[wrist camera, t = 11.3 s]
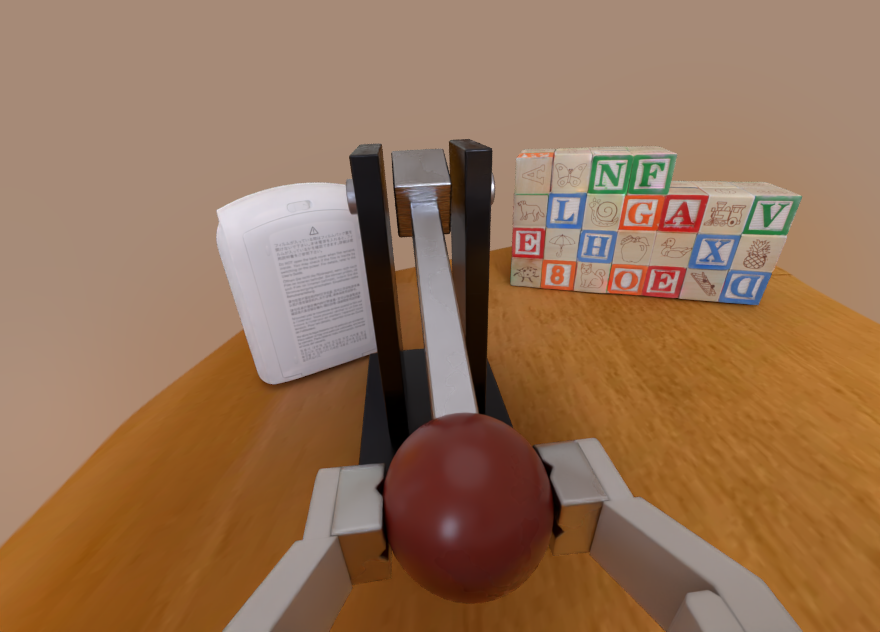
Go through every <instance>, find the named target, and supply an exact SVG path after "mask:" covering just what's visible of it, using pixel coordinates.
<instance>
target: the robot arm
mask: <svg viewBox="0 0 880 632" xmlns="http://www.w3.org/2000/svg"><path fill="white" fill-rule="evenodd" d="M533 448H534V450H535V451H536V453H537V454H538V456H539V458H540V459H541V461H542V463H543V465H544V467H545V470H546V472H547V475H548V478H549V481H550V485H551V489H552V493H553V502H554V520H553V527H552V534H551V538H550V541H549V548H550V550H551V553H552V556H559V555H568V554H578V553H587V552H590V554H589V555H590V556H591V557H592V558H593V559H594V560H595V561H596V562H597V563H598V564H599V565H600V566H601V567H602V568H603V569H604V570H605V571H606V572H607V573H608V574H609V575H610V576H611V577H612V578H613V579H614V580H615V581H616V582H617V583H618V584H619V585H620V586H621V587H622V588H623V589H624V590H625V591H626V592H627V593H628V594H629V595H630V596H631V597H632V598H633V599H634V600H635V601H636V602H637V603H638V604H639V605H640V606H641V607H642V608H643V609H644V610H645V611H646V612H647V613H648V614H649V615H650V616H651V617H652V618H653V619H654V620H655V621H656V622H657V623H658V624H659V625H660V626H661V627H662V628H663V629H664V630H665V631H666V632H803V631H802V630H801V628H800V627H799V626H798V625H797V623H796V622H795V621H794V619H793V618H792V617H791V616H790V614H789V613H788V612H787V611H786V609H785V608H784V607H783V605H782V604H781V603H780V602H779V600H778V599H777V598H776V596H775V595H774V594H773V593H772V591H771V590H770V589H769V587H768V586H767V585H766V584H765V582H764V581H763V580H762V579H761V578H759V577H758V576H756V575H755V574H753V573H752V572H750V571H749V570H747V569H746V568H744V567H743V566H741V565H740V564H738V563H737V562H736V561H734V560H733V559H731V558H730V557H728V556H727V555H725V554H724V553H722V552H721V551H719V550H718V549H716V548H715V547H713V546H712V545H711V544H709V543H708V542H706V541H705V540H703V539H702V538H700V537H699V536H697V535H696V534H694V533H693V532H691V531H690V530H688V529H687V528H685V527H684V526H683V525H681V524H680V523H678V522H677V521H675V520H674V519H672V518H671V517H669V516H668V515H666V514H665V513H663V512H662V511H660V510H659V509H658V508H656V507H655V506H653V505H652V504H650V503H649V502H647V501H646V500H644V499H643V498H641V497H633V495H632V493H631V492H630V490H629V489H628V487H627V485H626V484H625V482H624V481H623V479H622V477H621V476H620V474H619V473H618V471H617V469H616V468H615V466H614V465H613V463H612V461H611V460H610V458H609V457H608V455H607V453H606V452H605V450H604V449H603V447H602V445H601V444H600V442H599V441H598V440H597V439H596V438H588V439H579V440H567V441H560V442H552V443H544V444H537V445H533ZM386 476H387V469H386V464H385V463H378V464H367V465H355V466H344V467H335V468H325V469H320V470H319V472H318V474H317V475H316V479H315V484H314V489H313V493H312V498H311V503H310V508H309V512H308V517H307V522H306V526H305V531H304V536H303V540H300V541H295V542H294V544H293V545H292V546H291V547H290V549H289V550H288V551H287V552H286V554H285V555H284V556H283V557H282V558H281V560H280V561H279V562H278V563H277V565H276V566H275V567H274V568H273V569H272V571H271V572H270V573H269V574H268V576H267V577H266V578H265V579H264V581H263V582H262V583H261V584H260V585H259V587H258V588H257V589H256V590H255V592H254V593H253V594H252V595H251V597H250V598H249V599H248V600H247V601H246V603H245V604H244V605H243V606H242V608H241V609H240V610H239V611H238V612H237V614H236V615H235V616H234V617H233V619H232V620H231V621H230V622H229V624H228V625H227V626H226V627H225V628H224V630H223V631H222V632H329V631H330V629H331V627H332V625H333V623H334V621H335V620H336V618H337V616H338V614H339V612H340V610H341V608H342V607H343V605H344V603H345V601H346V599H347V597H348V596H349V594H350V592H351V590H352V585H355V584H361V583H367V582H373V581H379V580H385V579H391V574H392V549H391V547H390V544H389V541H388V538H387V535H386V531H385V523H384V508H383V497H382V494H383V488H384V482H385V479H386Z"/></svg>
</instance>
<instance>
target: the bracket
mask: <svg viewBox="0 0 880 632" xmlns="http://www.w3.org/2000/svg"><path fill="white" fill-rule="evenodd" d="M449 155H450V178H451V182H452V201H451V238H452V277H453V283H454V288H455V293H456V298H457V303H458V308H459V313H460V319H461V324H462V329H463V334H464V339H465V344H466V349H467V355H468V360H469V365H470V370H471V375H472V380H473V385H474V390H475V396H476V401H477V406H478V411H479V414H482V415H487V416H490V417H493V418H495V419H497V420H500V421H502V422H504V423H505V424H507V425H509V426H510V427H512V428H513V426H512V423H511V421H510V418H509V415H508V413H507V410H506V407H505V405H504V402H503V399H502V396H501V394H500V391H499V388H498V386H497V383H496V380H495V378H494V375H493V372H492V370H491V367H490V364H489V362H488V359H487V336H488V298H489V260H490V222H491V205H492V204H493V202H494V198H495V181H494V176H493V173H492V148H490V147H487V146H485V145H482V144H480V143H477V142H475V141H472V140H470V139H462V140H450V141H449ZM349 159H350V166H351V173H352V179H347V180H346V196H347V203H348V208H349V211H350V213H351V214H352V215H355V214H357V215H358V222H359V228H360V235H361V242H362V249H363V256H364V263H365V270H366V277H367V284H368V291H369V298H370V305H371V312H372V319H373V325H374V332H375V339H376V346H377V353H371V354H370V356H369V366H368V376H367V387H366V397H365V407H364V417H363V427H362V438H361V448H360V458H359V465H367V464H378V463H385V464H386V469H387V472H388V469H389V466H390V464H391V462H392V460H393V458H394V456H395V454H396V452H397V451H398V449H399V448H400V447H401V445H402V444H403V443H404V441H405V440H406V439H407V438H408V437H409V436H410V435H411V434H412V433H413V432H414V431H416V430H417V429H418V428H419V427H421V426H422V425H424V424H425V423H427V422H429V421H431V420H432V417H431V407H430V398H429V388H428V379H427V370H426V360H425V351H424V349H414V350H403V343H402V334H401V324H400V314H399V305H398V295H397V286H396V276H395V266H394V257H393V247H392V237H391V228H390V218H389V208H388V199H387V189H386V180H385V170H384V161H383V151H382V144H364V145H359V146H358V147H357V149H355V151H354V152H353V153H352V154H351V155H350V156H349Z"/></svg>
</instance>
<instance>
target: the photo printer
mask: <svg viewBox="0 0 880 632" xmlns="http://www.w3.org/2000/svg"><path fill="white" fill-rule="evenodd" d="M216 212H217V216H218V220H219V225H218V228H217V235H216V236H217V238H216V240H217V246H218V250H219V253H220V257H221V259H222V263H223V266H224V269H225V272H226V275H227V278H228V282H229V284H230V288H231V291H232V294H233V297H234V300H235V304H236V307H237V310H238V313H239V316H240V319H241V322H242V325H243V328H244V332H245V335H246V338H247V341H248V344H249V347H250V350H251V353H252V356H253V359H254V362H255V366H256V369H257V372H258V375H259V377H260V378H261V379H262V380H263V381H264V382H266V383H269V384H279V383H283V382H288V381H291V380H294V379H298V378H301V377H304V376H307V375H310V374H313V373H316V372H319V371H322V370H325V369H328V368H331V367H334V366H337V365H340V364H343V363H346V362H349V361H351V360H354V359H357V358H360V357H364V356H367V355H370V354H371V353H375V352H377V346H376V339H375V332H374V325H373V319H372V312H371V305H370V298H369V291H368V284H367V277H366V270H365V263H364V256H363V249H362V242H361V235H360V228H359V222H358V215H357V214H355V215H352V214H351V213H350V211H349V208H348V203H347V196H346V185H344V184H335V183H300V184H291V185H284V186H279V187H274V188H270V189H266V190H263V191H260V192H256V193H253V194H250V195H248V196H245V197H243V198H240V199H238V200H235V201H233V202H231V203H229V204H227V205H225V206H223V207H222V208H220V209H218V210H216Z"/></svg>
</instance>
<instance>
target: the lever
mask: <svg viewBox="0 0 880 632" xmlns="http://www.w3.org/2000/svg"><path fill="white" fill-rule="evenodd" d="M391 155H392V171H393V186H394V196H395V207H396V216H397V226H398V235H399V237H412V238H413V247H414V257H415V266H416V276H417V285H418V295H419V304H420V313H421V323H422V332H423V342H424V351H425V360H426V370H427V379H428V388H429V398H430V407H431V417H432V420H431V421H429V422H427V423H425V424H424V425H422V426H421V427H419V428H418V429H417V430H416V431H414V432H413V433H412V434H411V435H410V436H409V437H408V438H407V439H406V440H405V441H404V443H403V444H402V445H401V447H400V448H399V449H398V451H397V452H396V454H395V456H394V458H393V460H392V462H391V464H390V466H389V469H388V472H387V476H386V479H385V482H384V488H383V494H382V497H383V508H384V523H385V531H386V535H387V538H388V541H389V544H390V547H391V549H392V551H393V553H394V555H395V557H396V559H397V560H398V562H399V563H400V565H401V566H402V568H403V569H404V570H405V571H406V573H407V574H408V575H409V576H410V577H411V578H412V579H413V580H414V581H415V582H416V583H417V584H419V585H420V586H421V587H422V588H424V589H426V590H427V591H429V592H430V593H432V594H434V595H436V596H438V597H440V598H443V599H446V600H449V601H453V602H457V603H466V604H475V603H484V602H489V601H493V600H496V599H499V598H501V597H503V596H506V595H508V594H509V593H511V592H512V591H514V590H516V589H517V588H518V587H519V586H521V585H522V584H523V583H524V582H525V581H526V580H527V579H528V578H529V577H530V576H531V574H532V573H533V572H534V571H535V570H536V568H537V567H538V565H539V563H540V562H541V560H542V558H543V557H544V554H545V552H546V550H547V547H548V545H549V541H550V538H551V534H552V527H553V520H554V502H553V493H552V489H551V485H550V481H549V478H548V475H547V472H546V470H545V467H544V465H543V463H542V461H541V459H540V458H539V456H538V454H537V453H536V451H535V450H534V448H533V447H532V446H531V445H530V444H529V442H528V441H527V440H526V439H525V438H524V437H523V436H522V435H521V434H520V433H518V432H517V431H516V430H515V429H513V428H512V427H510V426H509V425H507V424H505V423H504V422H502V421H500V420H497V419H495V418H493V417H490V416H487V415H482V414H479V411H478V406H477V401H476V396H475V390H474V385H473V380H472V375H471V370H470V365H469V360H468V355H467V349H466V344H465V339H464V334H463V329H462V324H461V319H460V313H459V308H458V303H457V298H456V293H455V288H454V283H453V277H452V272H451V267H450V262H449V257H448V252H447V247H446V242H445V236H444V234H450V232H451V201H452V182H451V178H450V174H449V170H448V166H447V162H446V158H445V154H444V150H443V149H425V150H407V151H393V152H392V153H391Z"/></svg>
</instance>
